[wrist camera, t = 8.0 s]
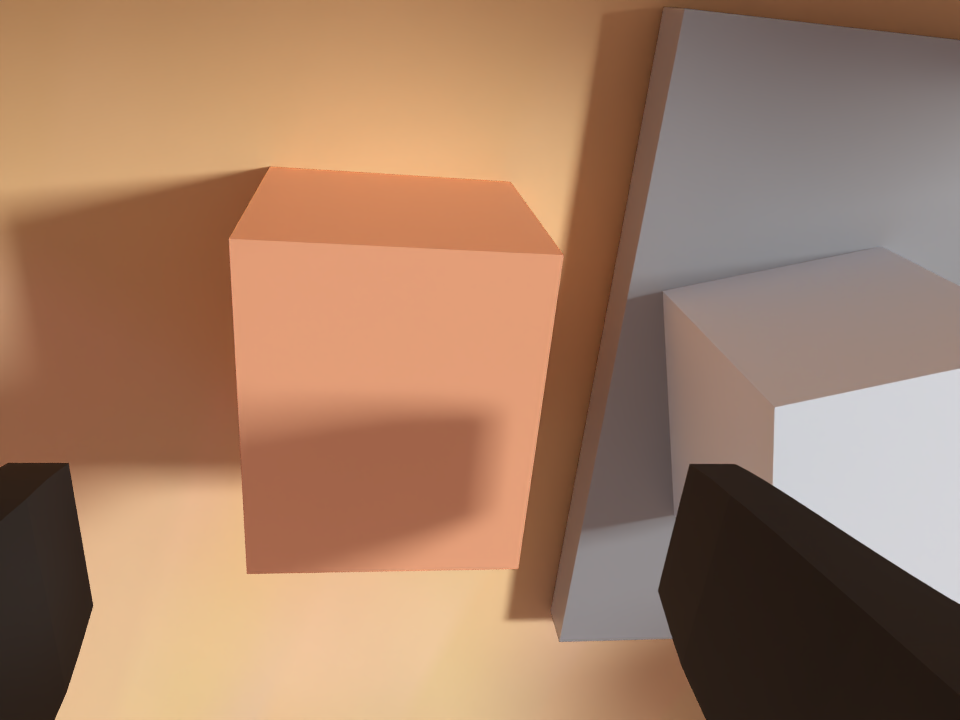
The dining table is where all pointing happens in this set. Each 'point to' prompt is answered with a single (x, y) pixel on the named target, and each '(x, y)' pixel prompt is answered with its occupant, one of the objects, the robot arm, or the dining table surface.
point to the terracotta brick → (388, 370)
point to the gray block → (743, 244)
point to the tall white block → (830, 397)
